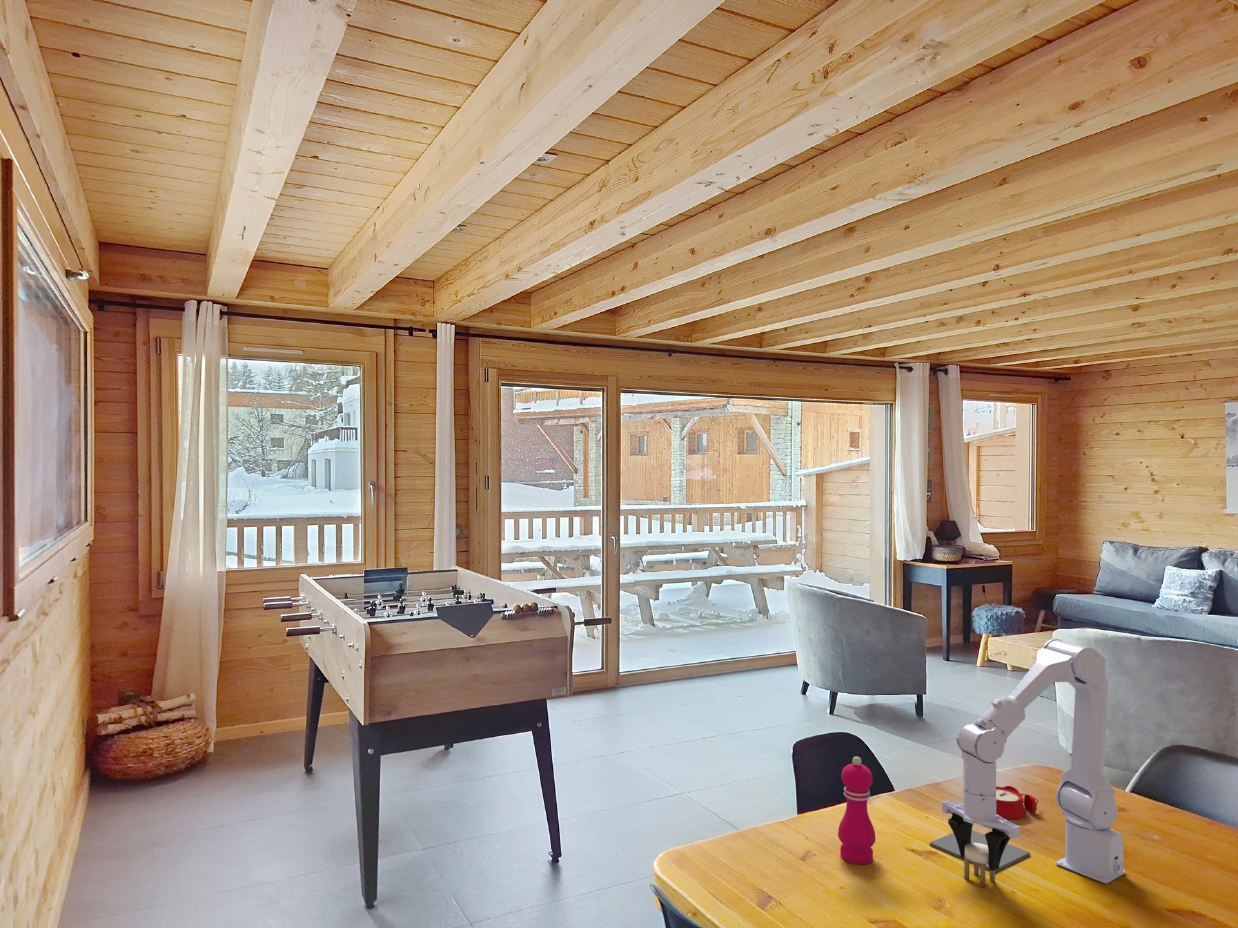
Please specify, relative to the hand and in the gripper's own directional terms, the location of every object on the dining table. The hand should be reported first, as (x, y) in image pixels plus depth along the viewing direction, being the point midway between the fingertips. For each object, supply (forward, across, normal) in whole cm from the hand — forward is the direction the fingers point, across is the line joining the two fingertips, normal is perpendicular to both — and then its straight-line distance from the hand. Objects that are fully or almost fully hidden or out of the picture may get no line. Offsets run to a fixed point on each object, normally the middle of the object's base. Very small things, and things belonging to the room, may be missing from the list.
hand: (979, 862), depth 154 cm
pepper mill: (+3, -19, -12) cm, 23 cm away
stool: (+3, 0, 0) cm, 3 cm away
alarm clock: (+4, -15, +36) cm, 39 cm away
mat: (+3, -7, +12) cm, 14 cm away
